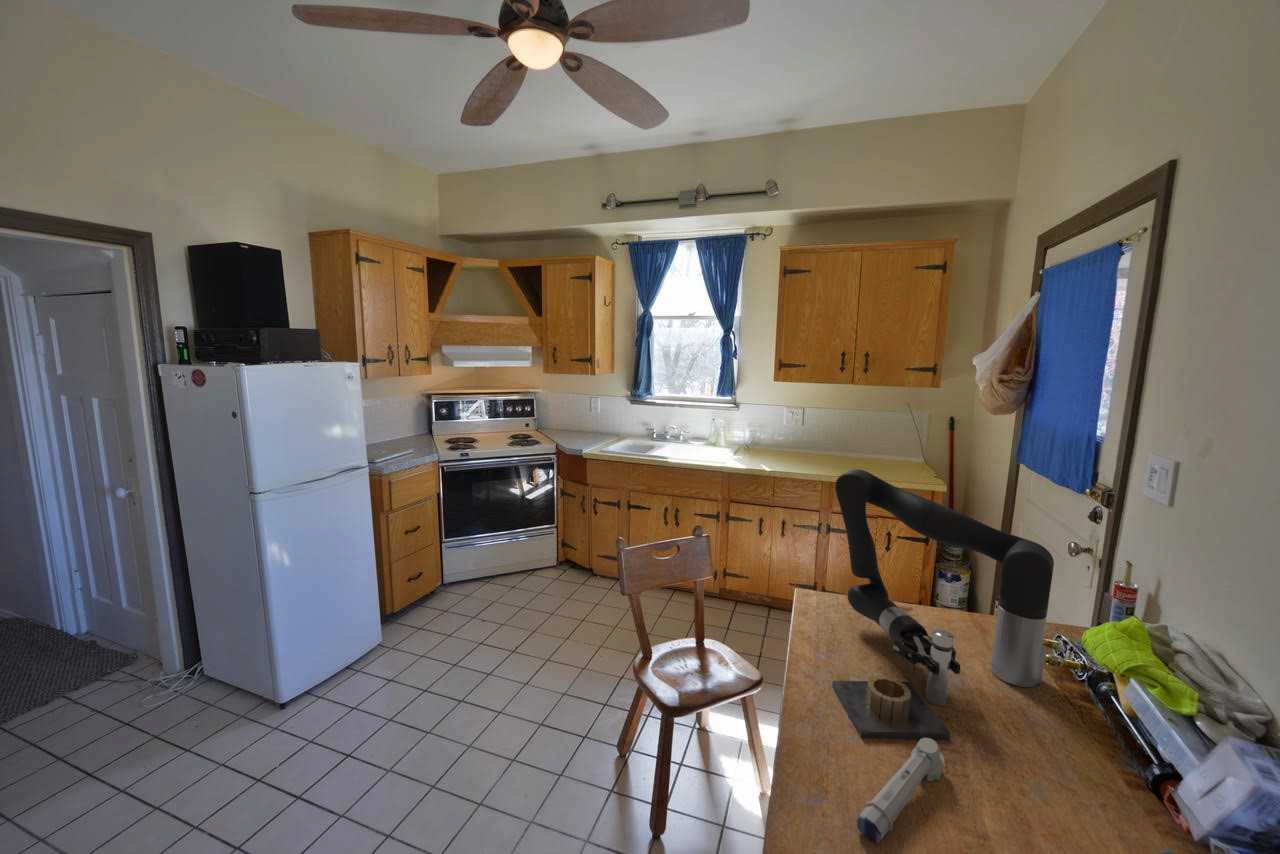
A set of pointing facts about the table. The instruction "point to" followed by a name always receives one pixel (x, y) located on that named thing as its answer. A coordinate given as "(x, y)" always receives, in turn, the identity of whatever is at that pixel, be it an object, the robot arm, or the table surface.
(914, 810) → the table surface
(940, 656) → the silver tall cylinder
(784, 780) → the table surface
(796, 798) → the table surface
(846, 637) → the table surface
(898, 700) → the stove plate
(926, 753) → the grey faceted piece
